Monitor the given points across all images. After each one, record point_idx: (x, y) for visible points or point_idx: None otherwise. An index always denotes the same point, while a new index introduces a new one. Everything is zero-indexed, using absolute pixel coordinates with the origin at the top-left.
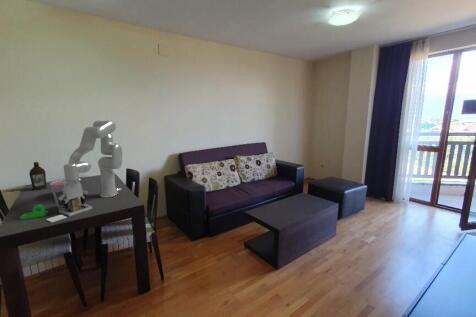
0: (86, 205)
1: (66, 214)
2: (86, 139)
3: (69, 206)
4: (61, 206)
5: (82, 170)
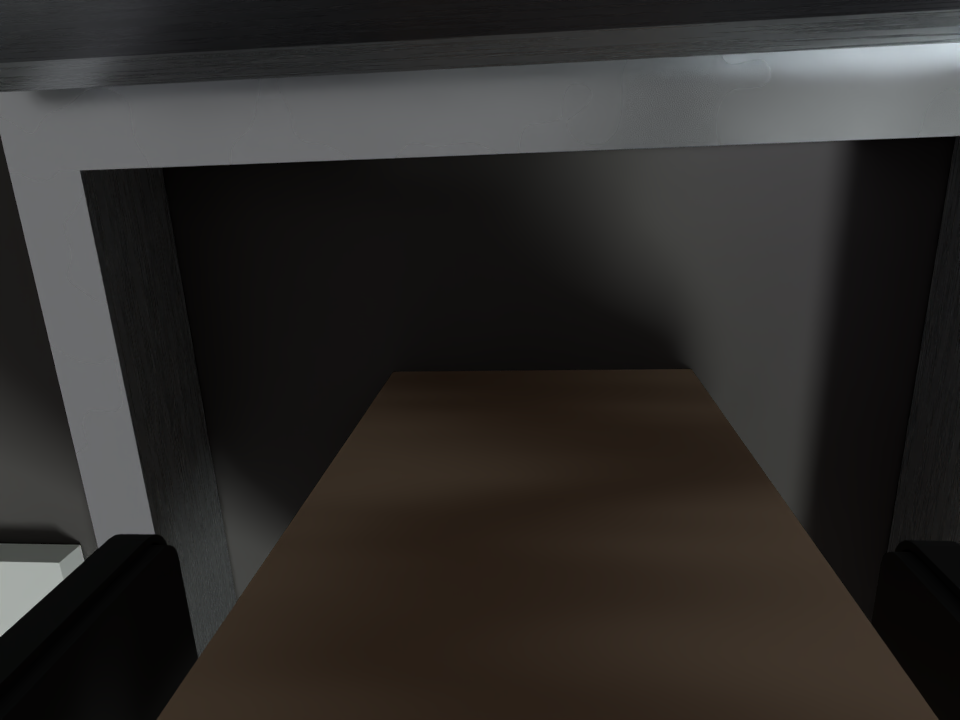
0: None
1: None
2: None
3: (338, 456)
4: (51, 63)
5: None
